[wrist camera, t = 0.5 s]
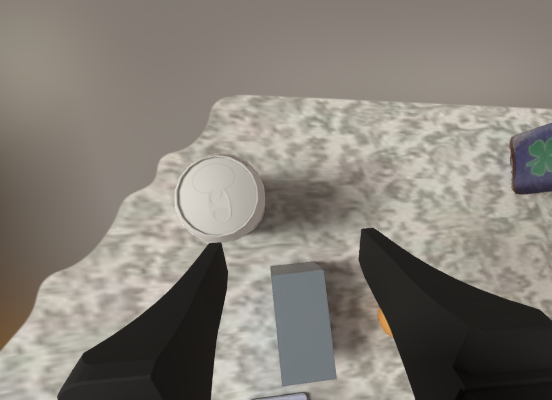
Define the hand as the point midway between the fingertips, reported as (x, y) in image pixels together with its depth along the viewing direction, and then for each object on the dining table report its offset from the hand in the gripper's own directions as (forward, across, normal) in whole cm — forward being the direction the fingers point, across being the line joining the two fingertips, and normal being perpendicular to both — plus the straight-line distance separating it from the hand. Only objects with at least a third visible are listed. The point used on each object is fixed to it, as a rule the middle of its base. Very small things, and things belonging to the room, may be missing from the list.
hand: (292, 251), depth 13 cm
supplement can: (+22, +6, +9) cm, 25 cm away
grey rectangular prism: (+14, -1, +22) cm, 26 cm away
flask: (+25, -37, +8) cm, 45 cm away
